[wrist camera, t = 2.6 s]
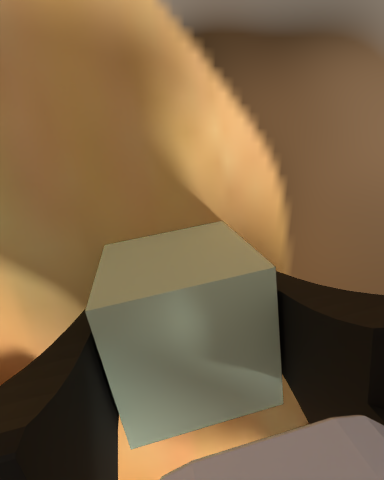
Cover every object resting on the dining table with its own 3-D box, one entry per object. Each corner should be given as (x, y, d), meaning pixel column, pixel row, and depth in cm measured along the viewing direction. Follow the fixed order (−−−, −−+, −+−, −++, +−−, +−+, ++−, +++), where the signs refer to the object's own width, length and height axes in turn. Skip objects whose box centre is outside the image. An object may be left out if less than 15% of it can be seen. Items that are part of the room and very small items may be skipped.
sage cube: (222, 220, 12) (275, 267, 8) (233, 317, 14) (283, 404, 9) (104, 244, 12) (85, 311, 7) (131, 343, 13) (130, 449, 9)
